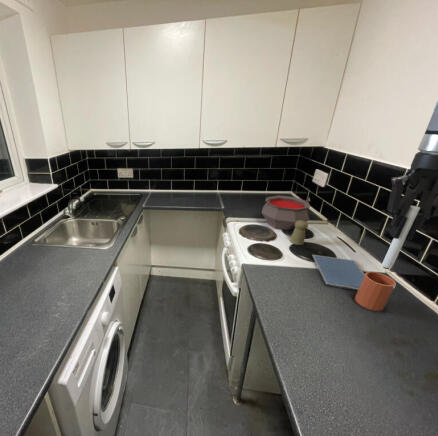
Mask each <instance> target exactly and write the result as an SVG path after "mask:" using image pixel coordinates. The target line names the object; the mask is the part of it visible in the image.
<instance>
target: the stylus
mask: <svg viewBox="0 0 438 436" xmlns="http://www.w3.org/2000/svg"><path fill="white" fill-rule="evenodd" d="M419 210H420V207H419V205H418V206H417V205H413V204H412V205H411V206H410V208H409V210H408V211H407V213H406V214H405V216H406V217H407V218H408V219H407V221H406V223H405V225H404V227H403V229H402V231H401V234H400V236H399V238H398V239H395V238H394V237H393V239H392V240H391V243H390V245H389V248H388V250H387V252H386V254H385V257H384V258H383V260H382V262H381V266H382V267H383V269H385V270H389V269H392V268H393V266H394V264H395V262H396V259H397V257H398V256H399V253H400V252H401V249H402V247H403V245H404V243H405V241H406V240H407V239H406V237H407V235H408V233H409V230H410V228H411V226H412V224H413V222H414V220H415V218H416V216H417V214H418V212H419Z"/></svg>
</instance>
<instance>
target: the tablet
mask: <svg viewBox="0 0 438 436" xmlns="http://www.w3.org/2000/svg"><path fill="white" fill-rule="evenodd" d="M311 258H312V260H313V262H314V264H315V266H316V268H317V271H318V273H319V275H320V277H321V279H322V281H323V283H324V285H325V286H326V287H333V288H337V289H338V288H339V289H343V290H344V289H345V290H349V291H355V292H357V291H358V289H359V286H360V284H361V282H362V279H363V277H364V275H365V272H364V271H363V270H362V269H361V267H360V266H359V265H358V263H357V262H356V261H355V260H354V259H346V258H339V257H332V256H325V255H318V254H311Z"/></svg>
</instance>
